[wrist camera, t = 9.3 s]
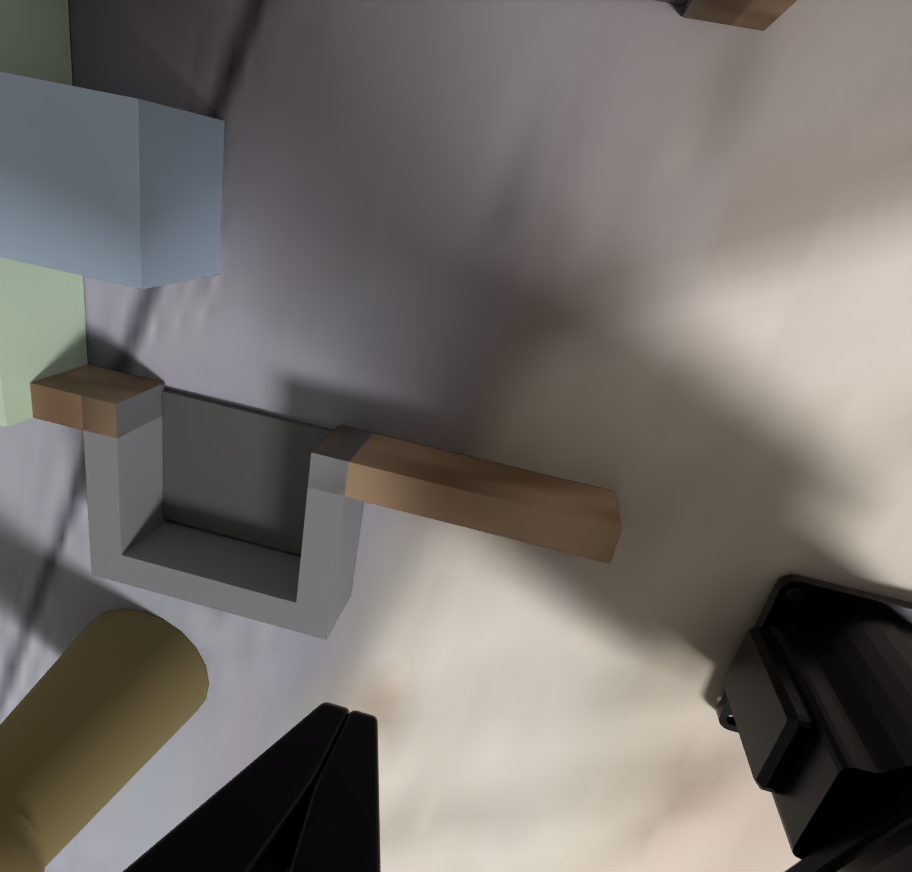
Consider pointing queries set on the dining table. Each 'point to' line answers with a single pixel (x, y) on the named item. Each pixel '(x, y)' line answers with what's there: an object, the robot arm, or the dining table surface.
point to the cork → (91, 730)
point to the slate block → (108, 184)
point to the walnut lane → (413, 465)
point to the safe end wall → (21, 284)
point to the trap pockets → (226, 507)
